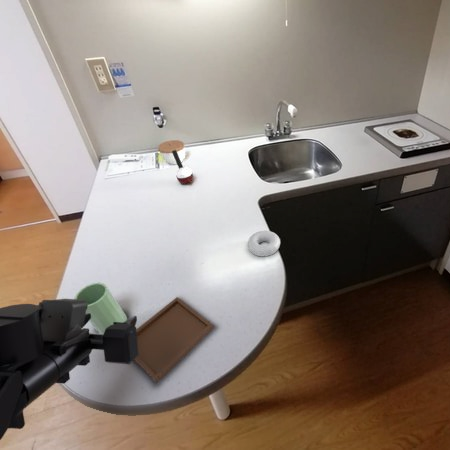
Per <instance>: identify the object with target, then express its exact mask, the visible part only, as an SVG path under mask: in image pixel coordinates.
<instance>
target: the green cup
mask: <svg viewBox="0 0 450 450" xmlns="http://www.w3.org/2000/svg"><path fill="white" fill-rule="evenodd" d="M73 299H82V300H85V301H87V304H88V307H87V310H86V314H88V313H90V314H91V319H90V320H89V321H88V323H90V324H91V326H92V327H93V328H94V329H95V330H96V332H97V333H100V334H104V332H105V329H106V328H107V327H109V326H110V325H113V322H125V321H127V320H128V317H127V314H126V313H125V312H124V310H123V309H122V306H120V304H119V302H118V301H117V300H116V298H115V296H114V295H113V293H112V292H111V290H110V289H109V287H108V286H107V285H106V284H105V283H102V282H94V283H93V282H92V283H91V284H87V285H85V286H84V287H83V288H81V289H80V290H79V291H77V293H76V294H75V296H74V298H73Z"/></svg>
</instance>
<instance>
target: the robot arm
mask: <svg viewBox="0 0 450 450" xmlns="http://www.w3.org/2000/svg"><path fill="white" fill-rule="evenodd" d="M87 307H88V304H87V301H85V300H82V299H74V298H58V299H57V298H56V299H42V300H41V302H40V301H39V302H38V304H34V303H19V304H12V305H7V306H3V307H0V441H1V440H2V439H3V437H4V436H5V435H6V432H7V431H8V430H9V429H12V430H13V429H15V430H21V429H23V428H24V427H25V425H26V421H25V415H24V411H25V409H26V408H27V407H29V406H30V405H31V404H33V402H34V401H36V400H38V398H40V396H42V395H43V394H45V392H47V391H48V390H50V389H51V388H52V387H53V386H54V385H56V384H63V385H64V384H66V383H67V382H69V380H71V376H70V372H71V371H73V369H75V368H76V367H77V366H81V367H83V366H84V367H86V366H87V365H88V364H90V363H91V358H90V354H92V351H93V350H98V351H100V350H101V351H103V355H104V362H105V363H108V364H118V365H130V364H131V363H132V362H133V361H135V360H134V359H135V358H136V357H137V356H138V344H137V332H136V329H137V327H136V325H137V323H138V317H137V315H134V316H131V317H130V318H127V321H125V322H113V325H110V326H109V327H107V328H106V329H105V332H104V334H100V333H99V332H90V328H84V327H85V326H86V325H87V324H88V323H89V320H90V319H91V314H90V313H88V314H86V310H87Z"/></svg>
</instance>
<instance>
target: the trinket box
mask: <svg viewBox="0 0 450 450" xmlns="http://www.w3.org/2000/svg"><path fill="white" fill-rule="evenodd" d="M157 150H158V152H159V154H160V156H161V158H162V160H163V161H164V162H166V163H167V164H169V165H173V166H174V165H175V166H176V165H177V163H176V160H175V158H174V156H173V153H172V151H174V150H176V151H177V154H178V156H179V158H180V161H181V163H183V161H184V160H185V157H186V147H185V143H184V142H183V141H181V140H179V139H178V140H177V139H174V140H172V139H171V140H167V141H164V142H162V143H160V144H159V145H158V146H157Z"/></svg>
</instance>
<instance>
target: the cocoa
mask: <svg viewBox="0 0 450 450" xmlns="http://www.w3.org/2000/svg"><path fill="white" fill-rule="evenodd" d="M172 153H173V156H174V158H175V160H176V163H177V164H176V165H177V167H178V169H177V171H176V173H175V177H176V179H177V181H178V183H179V184H181V185H184V186H185V185H189V184H191V183H192V182H193V180H194V175H193V171H192V168H190V167H189V166H188V165H184V166H183V164H182V163H183V162H181V161H180V158H179V156H178V154H177V151H176V150H174V151H172Z"/></svg>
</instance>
